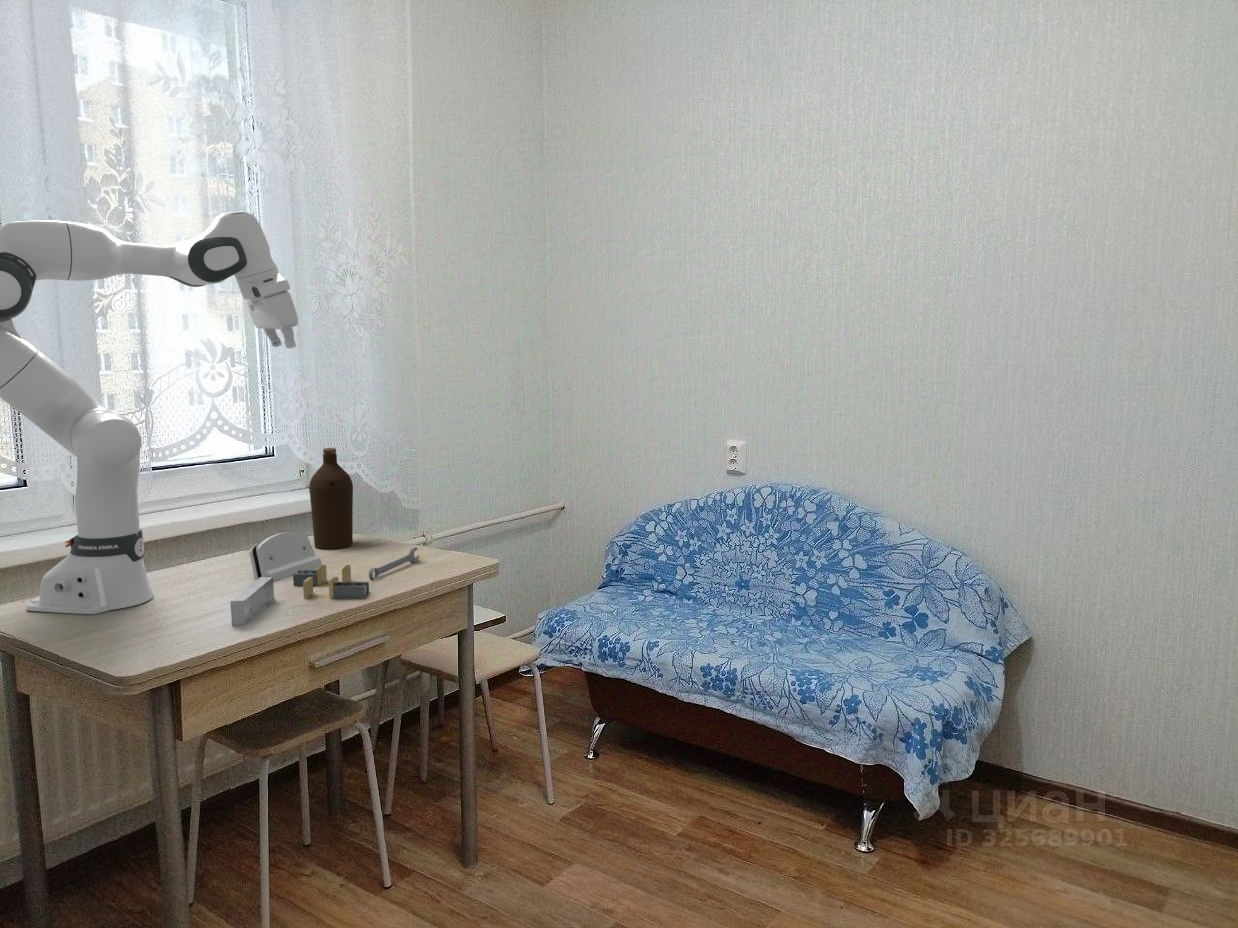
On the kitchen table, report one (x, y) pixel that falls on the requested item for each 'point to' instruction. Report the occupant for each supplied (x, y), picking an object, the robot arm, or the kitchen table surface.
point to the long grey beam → (252, 601)
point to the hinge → (283, 556)
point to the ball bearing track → (331, 583)
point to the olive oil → (331, 504)
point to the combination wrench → (393, 564)
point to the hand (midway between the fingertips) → (284, 347)
